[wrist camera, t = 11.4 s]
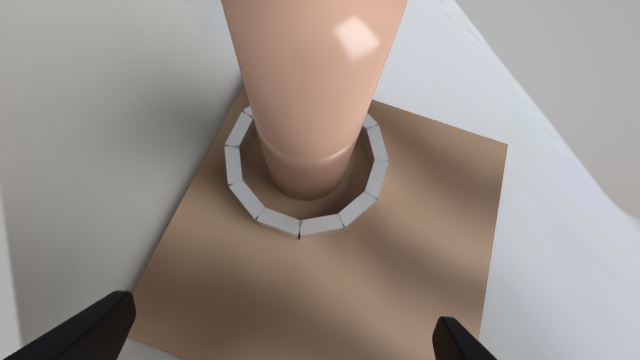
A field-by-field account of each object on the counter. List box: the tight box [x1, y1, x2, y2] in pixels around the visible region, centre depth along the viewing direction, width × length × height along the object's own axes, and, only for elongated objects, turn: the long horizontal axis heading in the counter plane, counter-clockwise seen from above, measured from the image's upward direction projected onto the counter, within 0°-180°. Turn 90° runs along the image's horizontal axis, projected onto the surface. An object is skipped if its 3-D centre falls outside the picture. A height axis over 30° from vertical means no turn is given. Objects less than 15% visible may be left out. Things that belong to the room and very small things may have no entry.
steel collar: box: [224, 106, 389, 240], centre depth 18 cm, size 9×9×2 cm
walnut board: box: [128, 84, 508, 360], centre depth 18 cm, size 18×18×1 cm
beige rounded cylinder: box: [221, 0, 407, 201], centre depth 13 cm, size 5×5×12 cm
